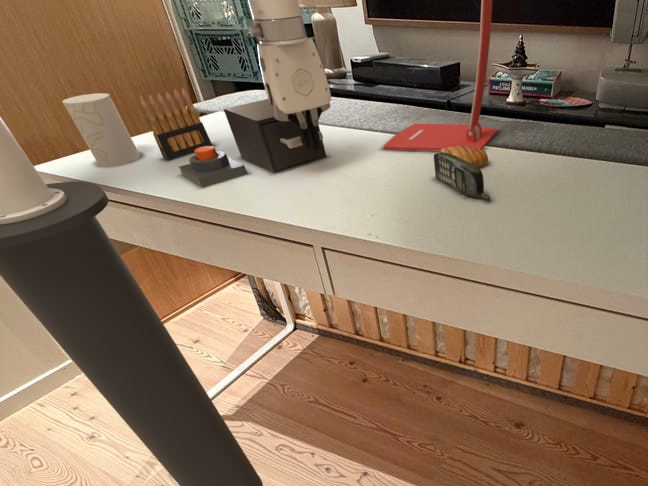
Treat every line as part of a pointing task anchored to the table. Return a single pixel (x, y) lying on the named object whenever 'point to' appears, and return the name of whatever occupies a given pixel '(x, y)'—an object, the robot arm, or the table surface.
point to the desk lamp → (455, 133)
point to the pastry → (468, 154)
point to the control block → (212, 169)
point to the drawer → (288, 144)
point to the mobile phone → (459, 174)
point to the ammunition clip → (176, 126)
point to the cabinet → (255, 133)
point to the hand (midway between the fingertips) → (313, 148)
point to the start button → (206, 153)
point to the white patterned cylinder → (102, 128)
